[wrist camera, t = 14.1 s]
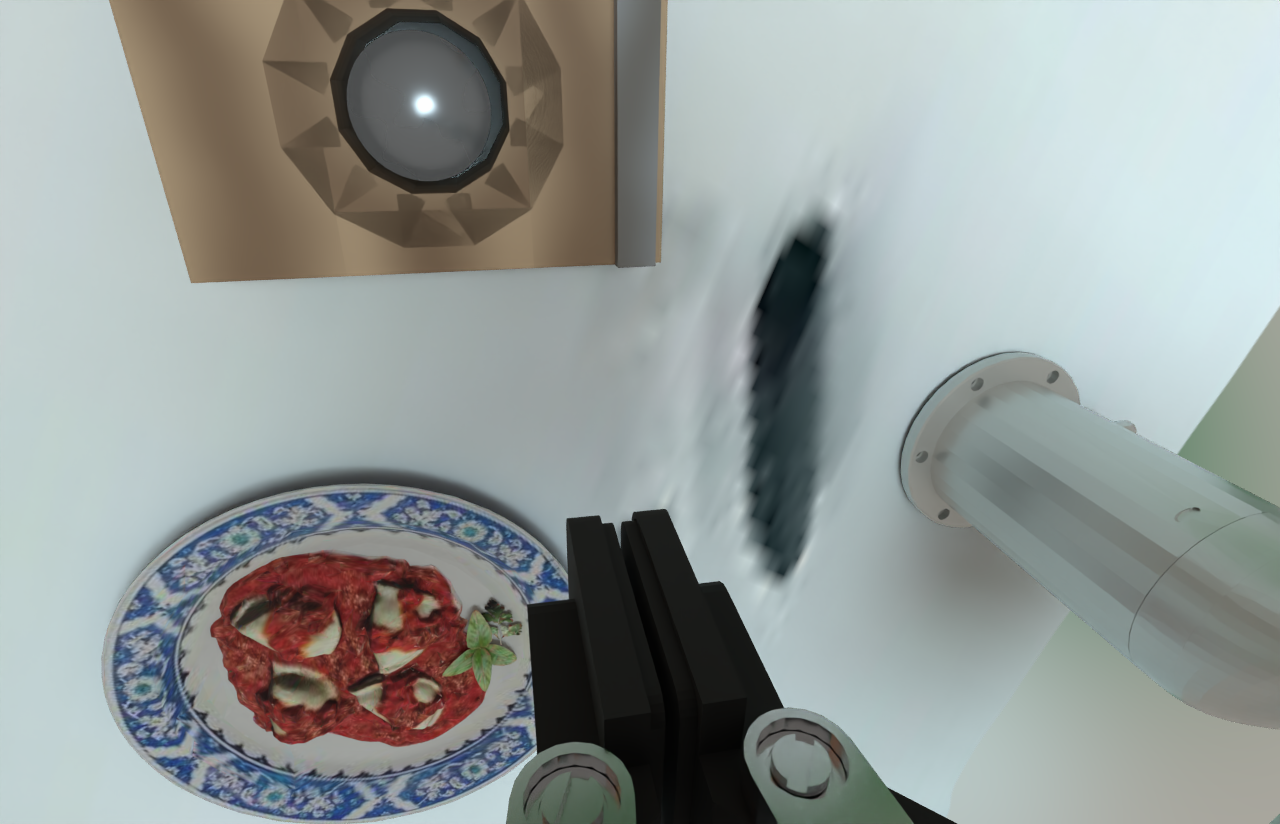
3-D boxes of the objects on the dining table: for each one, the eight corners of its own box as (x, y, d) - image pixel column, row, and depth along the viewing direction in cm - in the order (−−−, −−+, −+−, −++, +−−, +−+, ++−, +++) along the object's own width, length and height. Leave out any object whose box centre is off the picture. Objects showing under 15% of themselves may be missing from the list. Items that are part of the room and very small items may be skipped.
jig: (636, -54, 27) (674, -85, 22) (634, 239, 33) (664, 265, 28) (145, -85, 24) (61, -130, 19) (232, 253, 29) (185, 287, 24)
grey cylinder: (480, 46, 28) (484, 32, 21) (489, 158, 30) (496, 180, 23) (368, 43, 27) (334, 27, 20) (385, 159, 29) (360, 182, 22)
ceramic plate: (131, 804, 41) (108, 853, 38) (106, 438, 31) (73, 470, 28) (542, 783, 49) (547, 822, 46) (624, 487, 39) (636, 515, 37)
